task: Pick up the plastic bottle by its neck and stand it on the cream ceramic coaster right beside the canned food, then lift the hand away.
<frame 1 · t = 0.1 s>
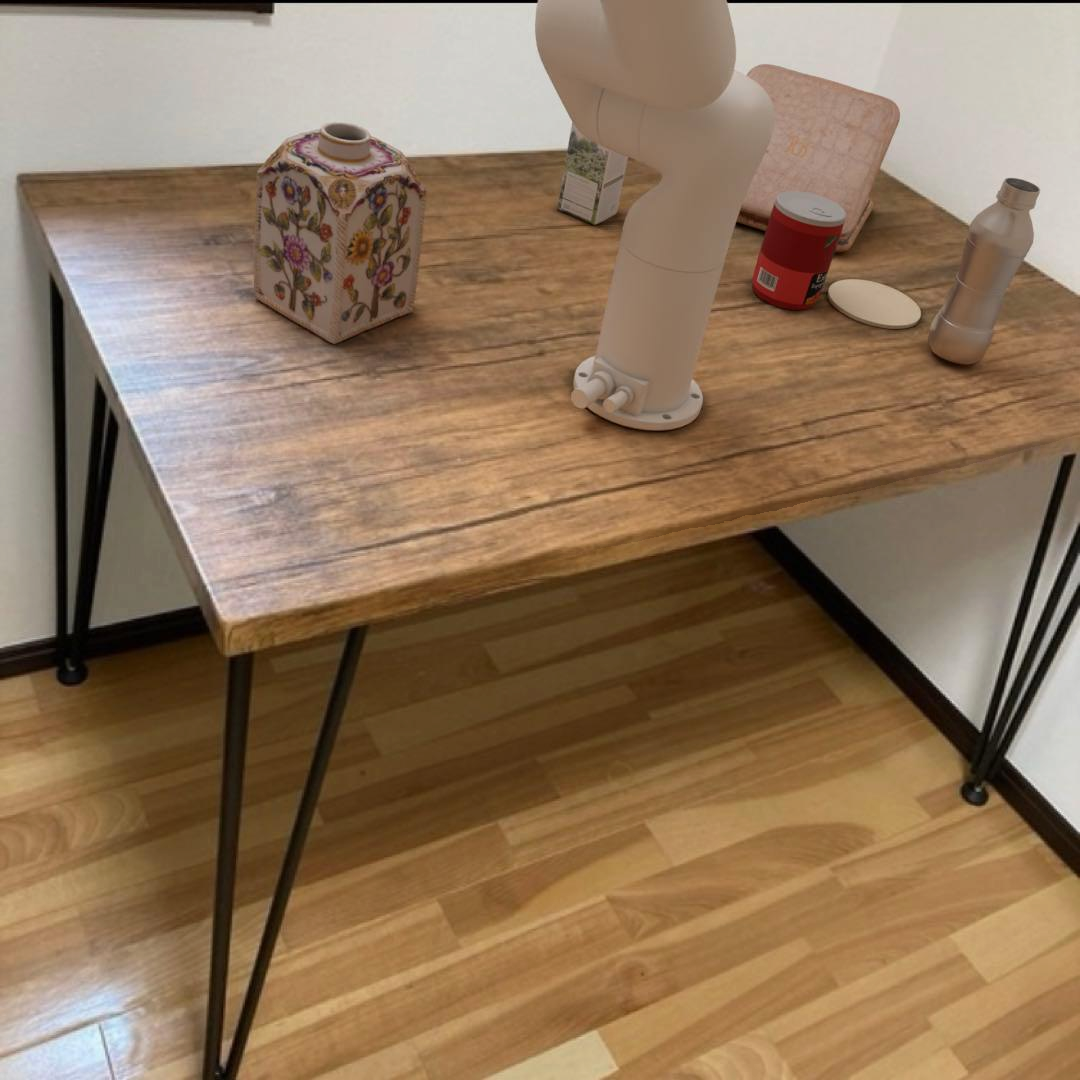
case: (784, 212, 164), on the table
decorative jar: (334, 308, 125), on the table
coaster: (873, 305, 146), on the table
canned food: (783, 296, 144), on the table
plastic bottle: (950, 357, 139), on the table
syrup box: (586, 213, 153), on the table
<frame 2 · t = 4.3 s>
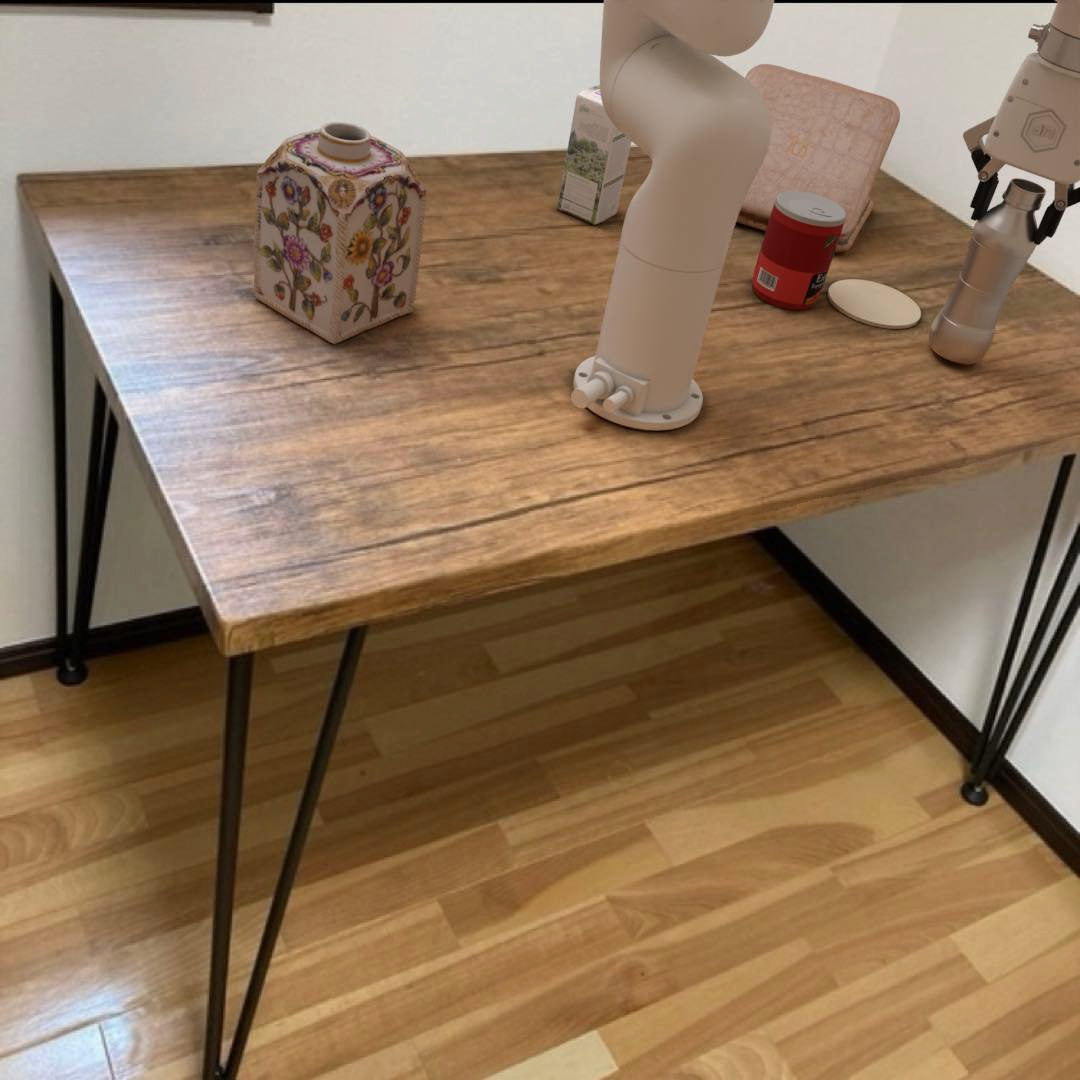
hand: (1008, 227, 129), 15 cm above the table, tool pointing down, fingers closed on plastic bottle, 6 cm apart
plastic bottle: (950, 357, 139), on the table, touching gripper
everything else where it was.
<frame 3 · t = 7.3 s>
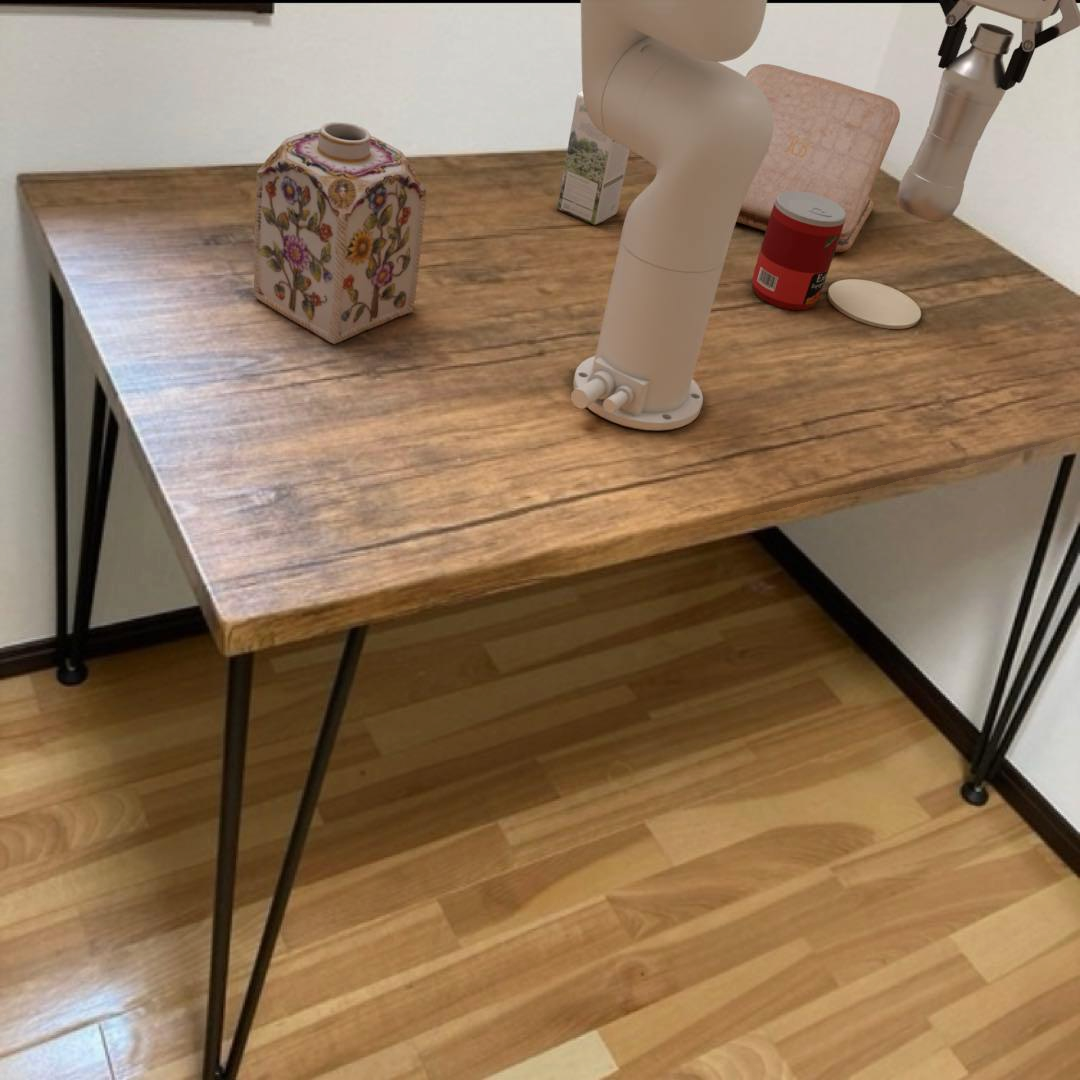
hand: (976, 74, 127), 28 cm above the table, tool pointing down, fingers closed on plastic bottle, 6 cm apart
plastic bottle: (919, 217, 137), point 12 cm above the table, touching gripper
everything else where it was.
when the fingers open (16 cm above the table, at t = 10.4 s): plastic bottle stays where it is, resting on coaster.
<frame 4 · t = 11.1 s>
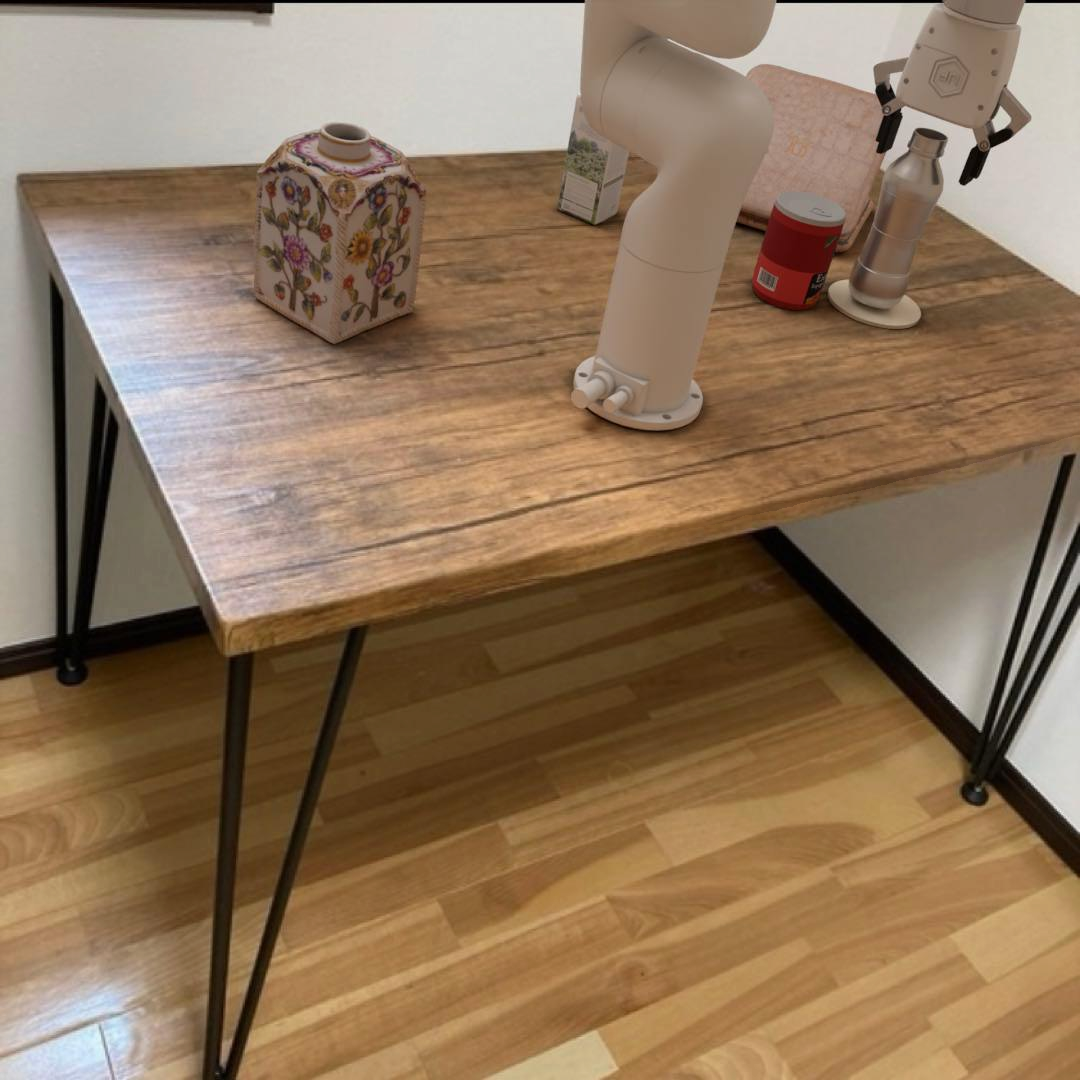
hand: (923, 166, 135), 17 cm above the table, tool pointing down, fingers open, 9 cm apart
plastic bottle: (870, 303, 145), resting on coaster
everything else where it was.
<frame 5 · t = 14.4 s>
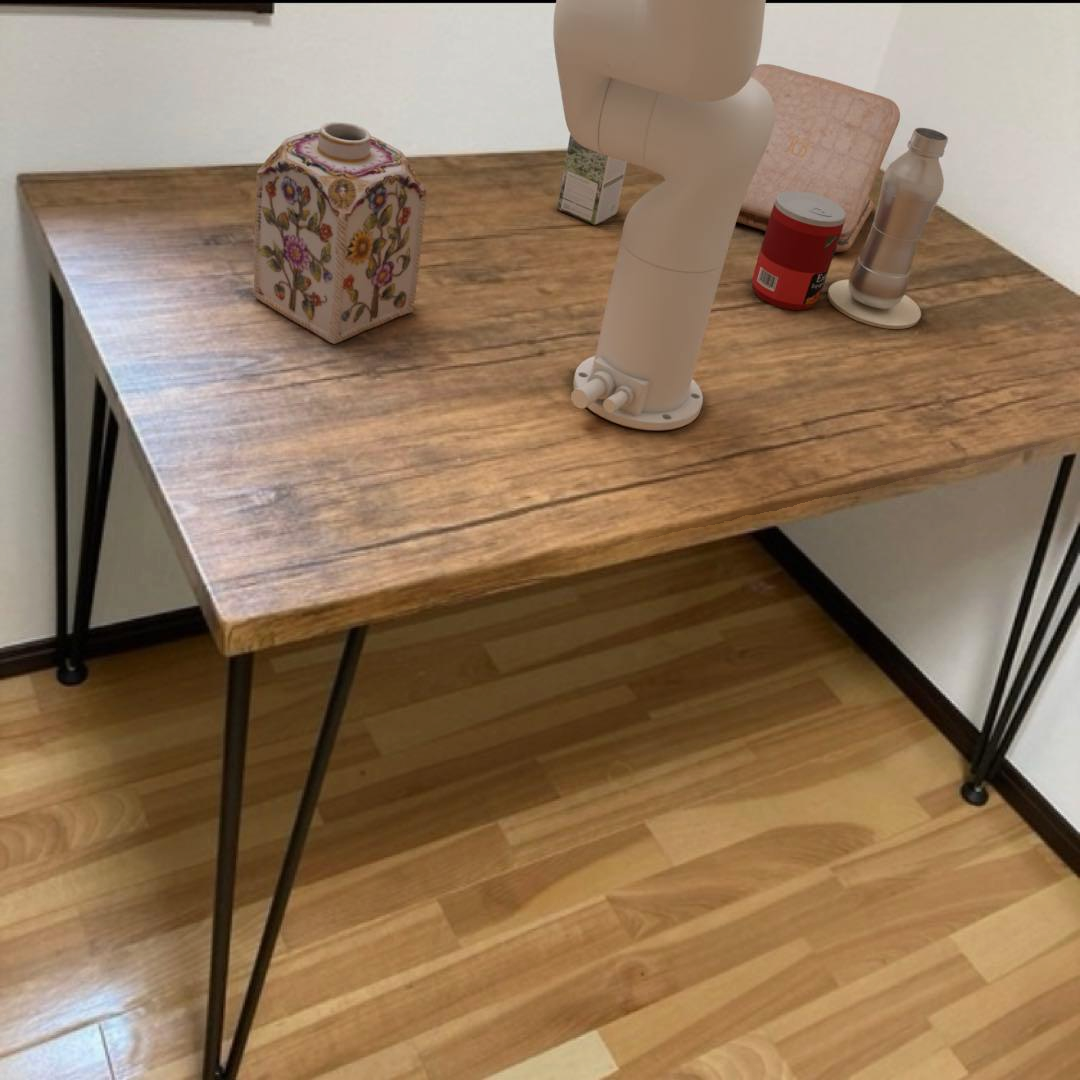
nothing on the table moved.
at the end: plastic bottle 0.6 cm off-centre on the coaster, point 0.3 cm above the coaster's base; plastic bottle tilted 0°; canned food moved 0.2 cm from its start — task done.
